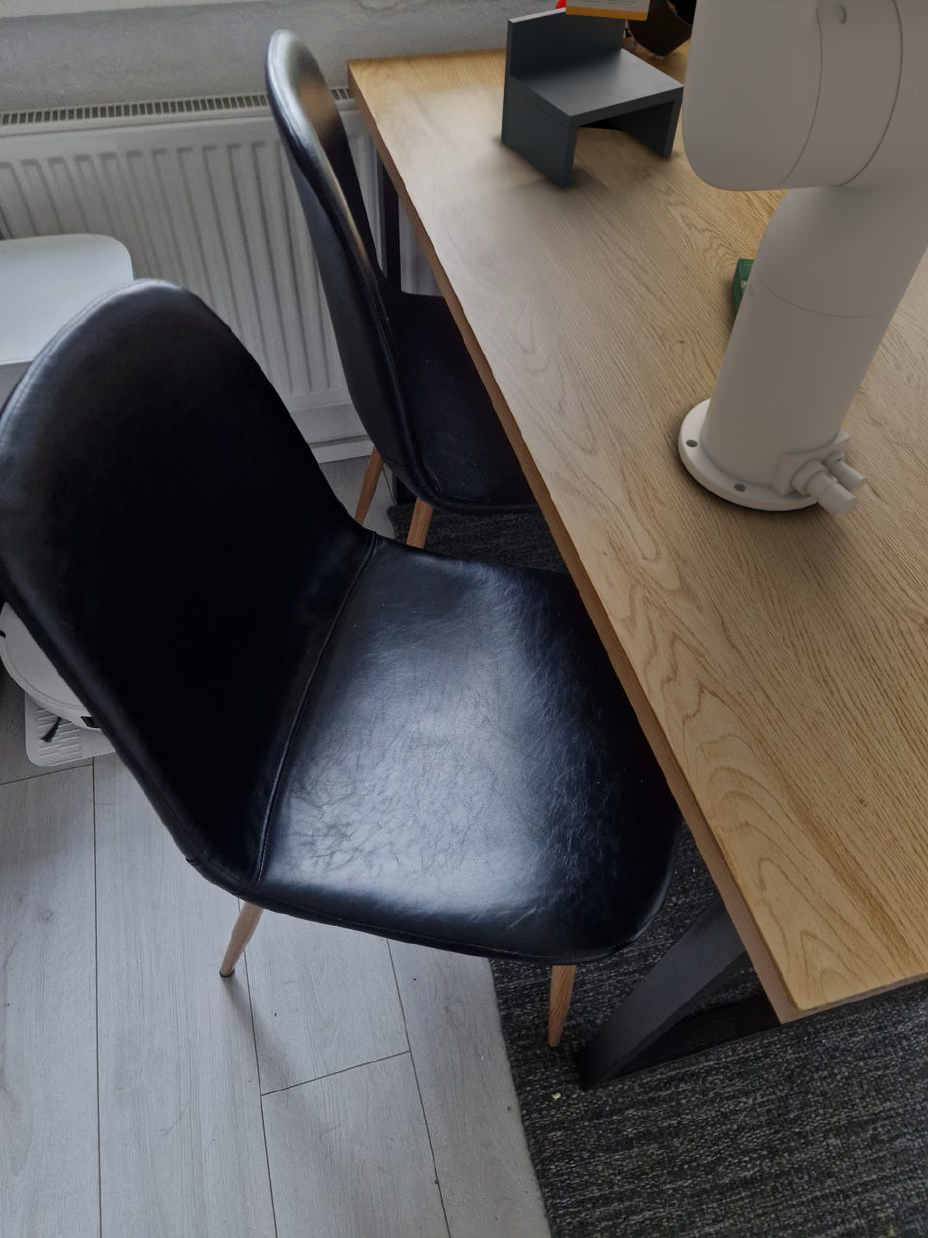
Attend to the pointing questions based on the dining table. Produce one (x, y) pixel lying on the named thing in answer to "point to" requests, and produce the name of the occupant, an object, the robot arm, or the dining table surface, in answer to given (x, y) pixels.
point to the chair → (580, 89)
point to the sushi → (663, 26)
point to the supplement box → (609, 8)
